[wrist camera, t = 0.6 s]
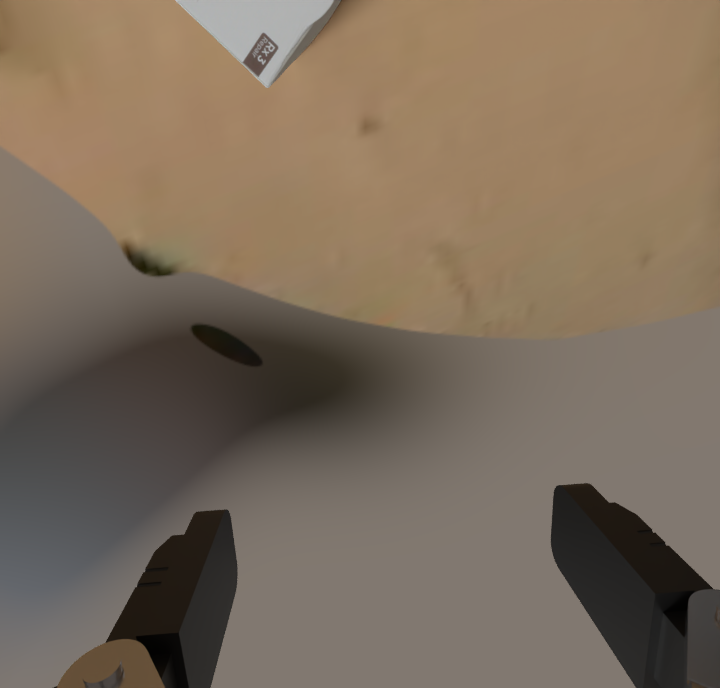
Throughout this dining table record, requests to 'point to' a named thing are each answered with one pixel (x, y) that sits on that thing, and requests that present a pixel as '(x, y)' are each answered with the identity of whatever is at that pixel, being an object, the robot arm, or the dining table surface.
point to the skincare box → (263, 30)
